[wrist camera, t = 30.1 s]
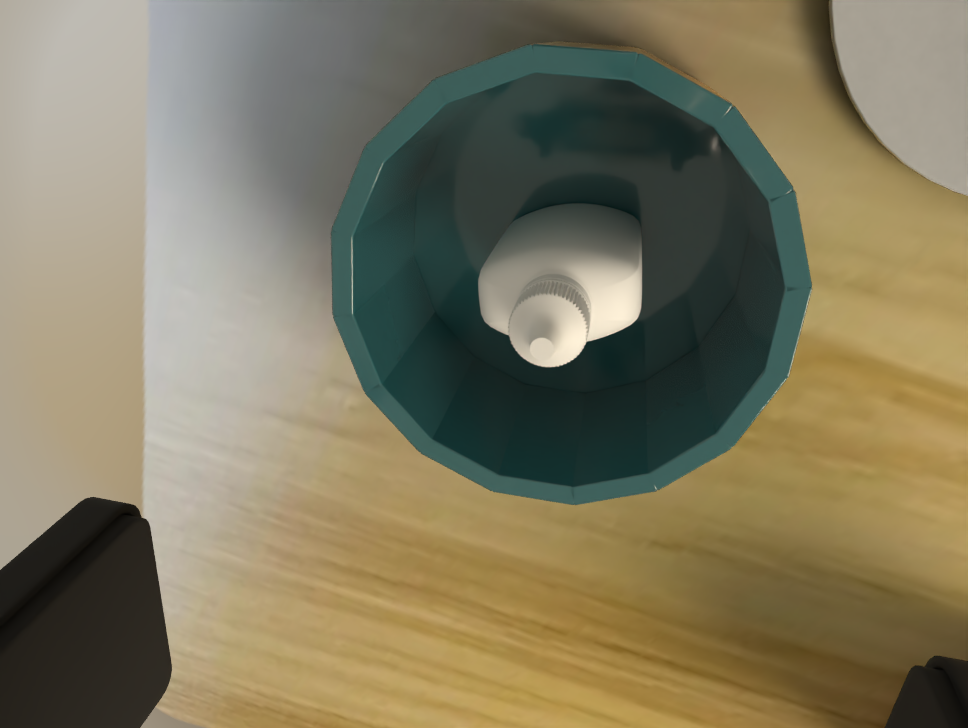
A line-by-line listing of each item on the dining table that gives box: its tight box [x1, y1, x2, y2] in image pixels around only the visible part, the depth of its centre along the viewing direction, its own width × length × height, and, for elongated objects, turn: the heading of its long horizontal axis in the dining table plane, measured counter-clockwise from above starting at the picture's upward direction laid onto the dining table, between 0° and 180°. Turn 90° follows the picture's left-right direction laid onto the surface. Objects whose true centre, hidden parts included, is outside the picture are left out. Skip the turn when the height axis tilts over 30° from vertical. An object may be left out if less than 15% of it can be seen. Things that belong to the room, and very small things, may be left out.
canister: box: [331, 41, 812, 505], centre depth 28 cm, size 16×16×8 cm
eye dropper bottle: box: [478, 203, 642, 368], centre depth 26 cm, size 4×6×12 cm
